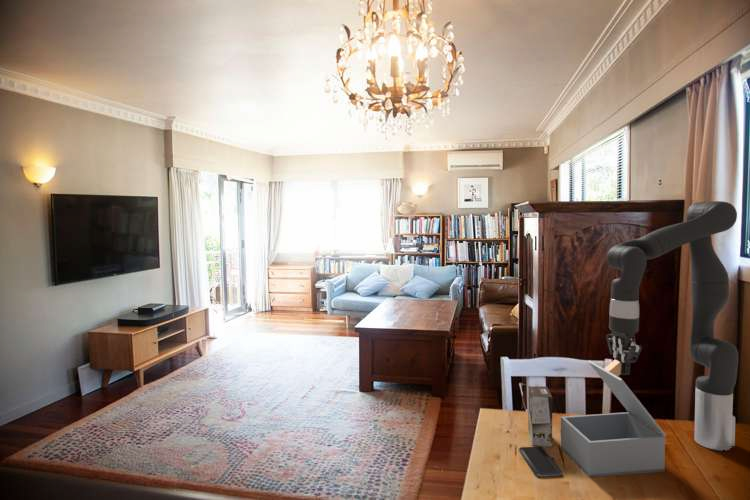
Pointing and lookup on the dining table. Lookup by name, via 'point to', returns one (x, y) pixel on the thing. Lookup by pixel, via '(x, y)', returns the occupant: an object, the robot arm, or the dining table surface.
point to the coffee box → (540, 415)
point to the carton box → (612, 444)
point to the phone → (540, 462)
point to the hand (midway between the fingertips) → (621, 372)
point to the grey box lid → (625, 393)
